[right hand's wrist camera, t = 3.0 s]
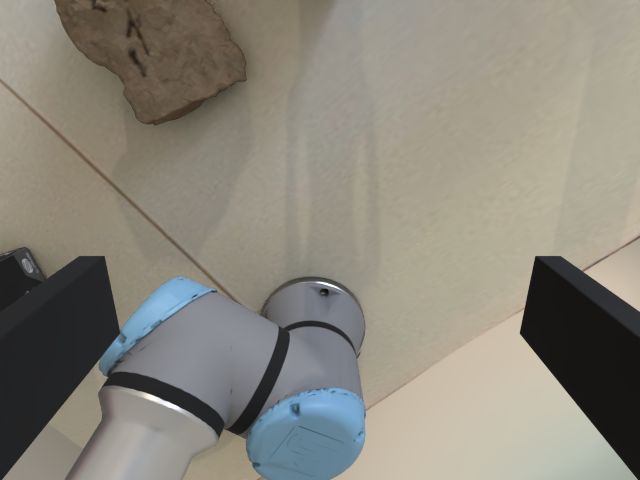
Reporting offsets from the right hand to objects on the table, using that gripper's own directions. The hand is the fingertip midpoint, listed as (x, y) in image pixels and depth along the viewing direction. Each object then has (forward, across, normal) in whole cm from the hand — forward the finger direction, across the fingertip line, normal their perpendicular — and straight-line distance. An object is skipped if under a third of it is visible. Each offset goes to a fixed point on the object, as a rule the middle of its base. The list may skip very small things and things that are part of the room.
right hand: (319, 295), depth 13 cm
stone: (+41, +18, -13) cm, 47 cm away
